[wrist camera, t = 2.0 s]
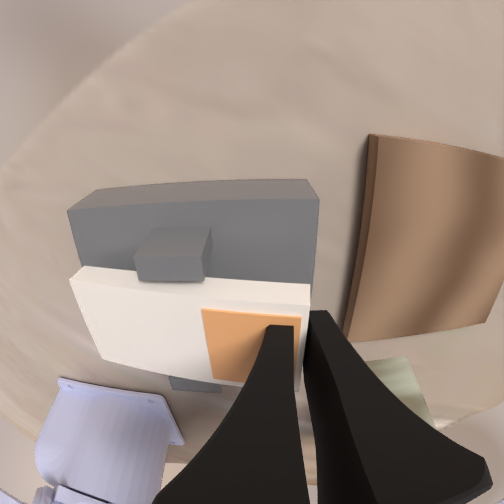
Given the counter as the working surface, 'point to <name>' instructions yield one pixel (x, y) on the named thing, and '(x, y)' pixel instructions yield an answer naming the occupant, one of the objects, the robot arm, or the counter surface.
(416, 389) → the block
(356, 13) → the counter surface
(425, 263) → the walnut board
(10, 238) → the counter surface
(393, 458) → the robot arm
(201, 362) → the rocker
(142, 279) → the switch base
